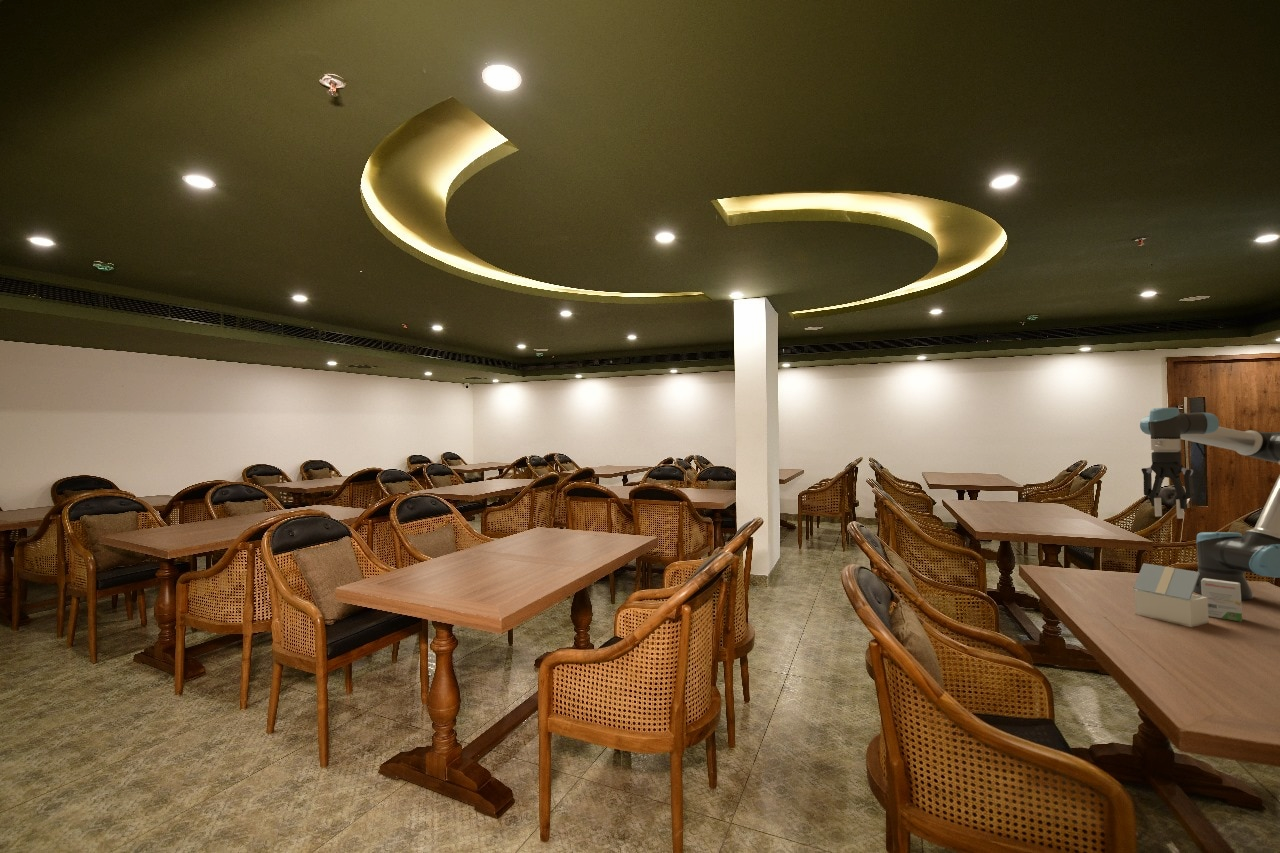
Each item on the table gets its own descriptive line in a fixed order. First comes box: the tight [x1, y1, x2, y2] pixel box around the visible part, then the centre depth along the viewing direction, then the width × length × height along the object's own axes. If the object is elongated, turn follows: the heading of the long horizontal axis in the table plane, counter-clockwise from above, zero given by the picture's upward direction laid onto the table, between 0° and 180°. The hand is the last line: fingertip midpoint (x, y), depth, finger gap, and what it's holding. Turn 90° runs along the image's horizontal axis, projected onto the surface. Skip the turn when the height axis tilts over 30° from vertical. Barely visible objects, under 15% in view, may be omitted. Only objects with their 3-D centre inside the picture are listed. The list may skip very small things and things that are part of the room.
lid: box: [1133, 562, 1200, 600], centre depth 171 cm, size 10×14×1 cm
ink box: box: [1201, 578, 1243, 623], centre depth 172 cm, size 8×5×12 cm, turn 38°
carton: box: [1133, 589, 1210, 628], centre depth 172 cm, size 10×14×8 cm
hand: (1169, 517), depth 185 cm, fingers open, 5 cm apart
